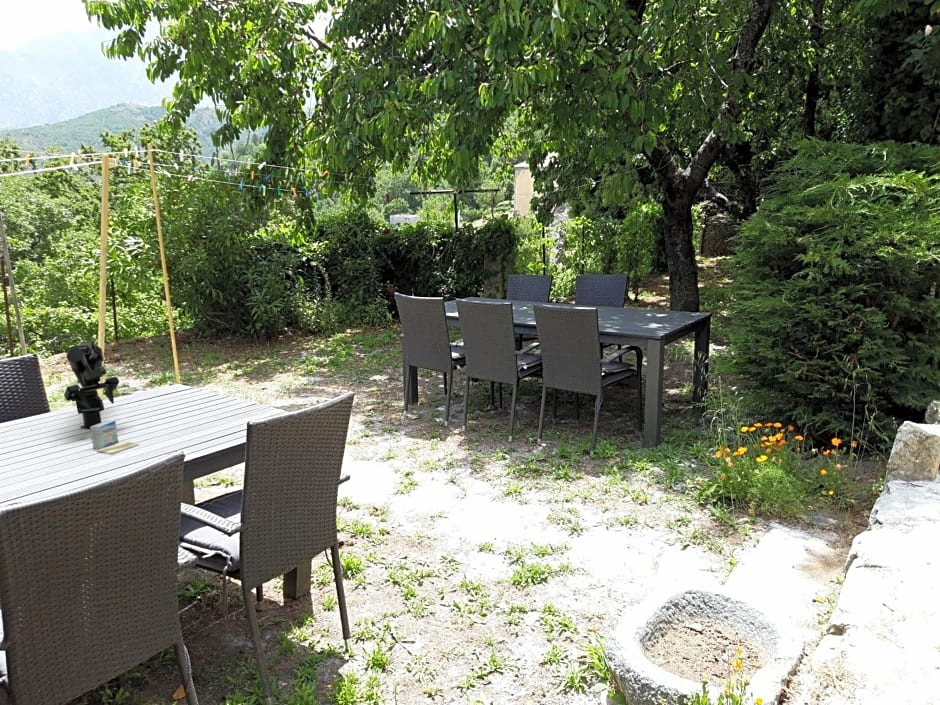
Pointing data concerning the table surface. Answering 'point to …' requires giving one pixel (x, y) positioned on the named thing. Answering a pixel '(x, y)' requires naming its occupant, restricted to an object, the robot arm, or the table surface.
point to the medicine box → (104, 434)
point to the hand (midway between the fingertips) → (101, 405)
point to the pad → (117, 447)
